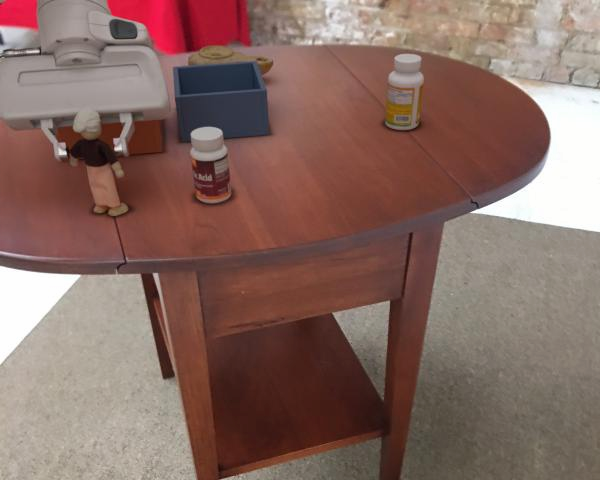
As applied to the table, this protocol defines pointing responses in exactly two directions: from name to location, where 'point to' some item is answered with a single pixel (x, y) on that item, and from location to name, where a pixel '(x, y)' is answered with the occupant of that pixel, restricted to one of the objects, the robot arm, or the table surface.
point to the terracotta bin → (141, 142)
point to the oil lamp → (227, 57)
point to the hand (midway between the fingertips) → (93, 157)
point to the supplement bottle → (404, 93)
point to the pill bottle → (210, 165)
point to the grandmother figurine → (97, 162)
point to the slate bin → (221, 99)
